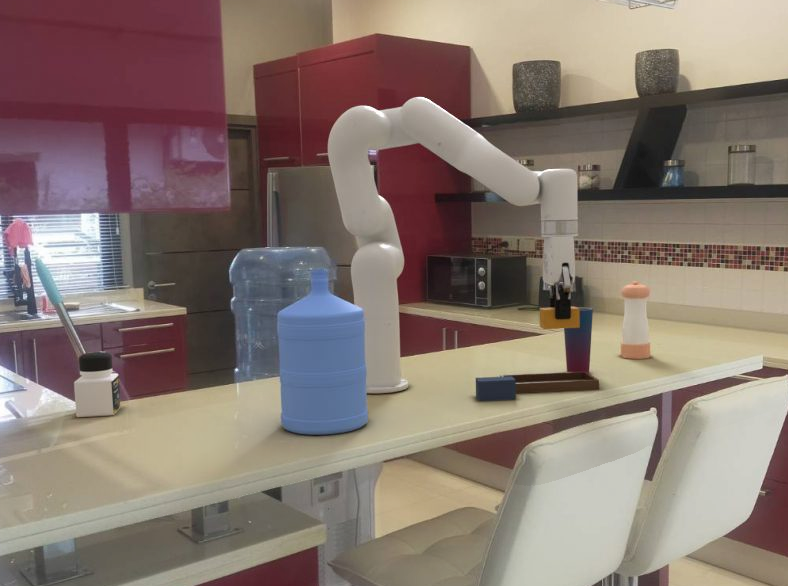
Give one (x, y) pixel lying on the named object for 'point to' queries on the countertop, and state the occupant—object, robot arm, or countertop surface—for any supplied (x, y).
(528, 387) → the tray
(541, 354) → the countertop surface
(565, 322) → the orange rectangular block
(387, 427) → the countertop surface
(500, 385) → the dark blue block
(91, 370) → the medicine bottle
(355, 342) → the water jug
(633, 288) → the pepper shaker
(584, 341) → the cup
